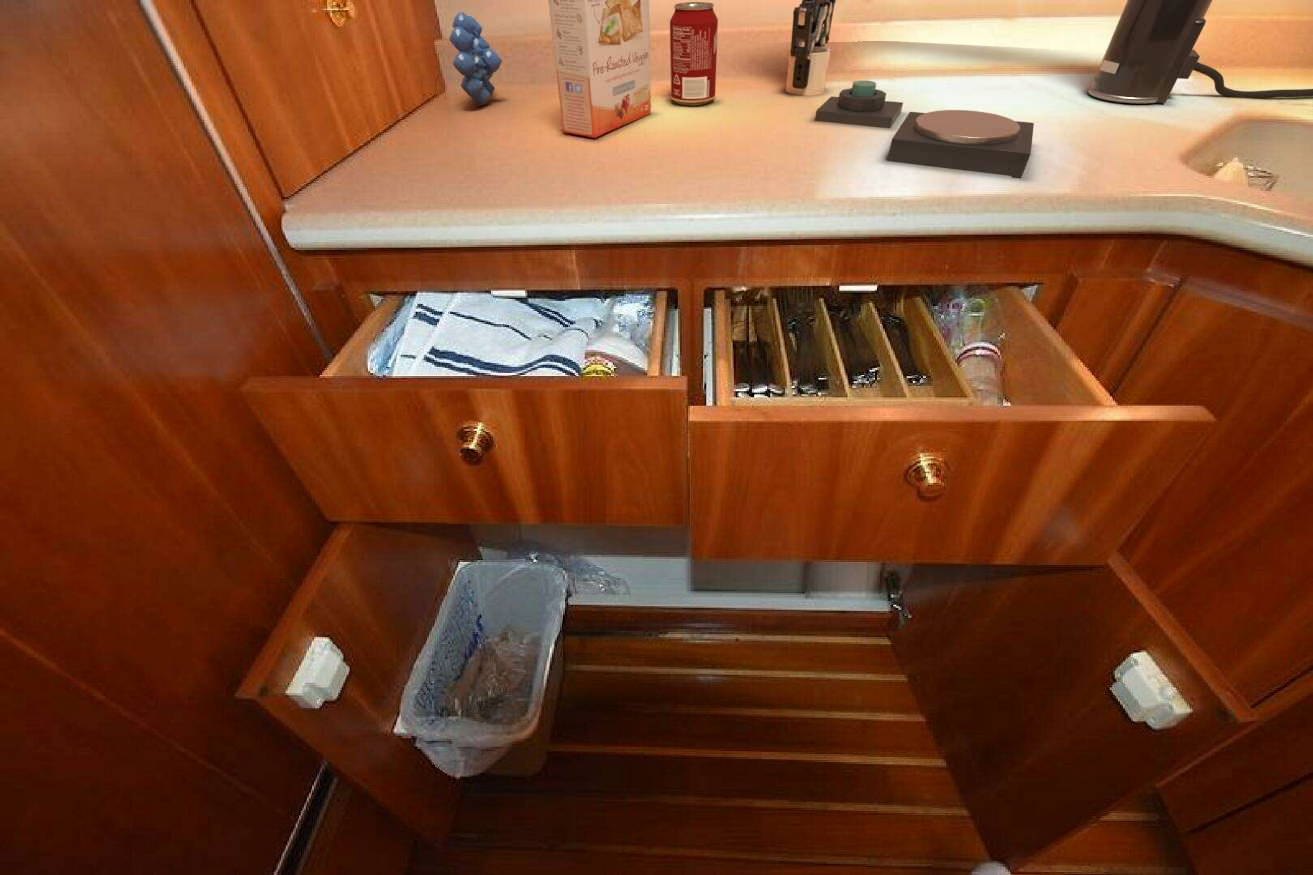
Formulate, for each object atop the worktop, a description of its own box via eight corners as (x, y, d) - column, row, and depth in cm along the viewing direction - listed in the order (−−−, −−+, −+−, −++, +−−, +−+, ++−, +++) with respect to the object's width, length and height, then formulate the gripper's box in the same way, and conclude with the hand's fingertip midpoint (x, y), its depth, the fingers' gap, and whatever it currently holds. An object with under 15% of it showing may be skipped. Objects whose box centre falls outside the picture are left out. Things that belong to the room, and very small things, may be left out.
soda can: (711, 107, 86) (715, 7, 78) (666, 106, 87) (665, 8, 79) (717, 96, 91) (721, 1, 83) (675, 95, 92) (674, 1, 84)
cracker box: (597, 140, 76) (579, -73, 62) (561, 134, 79) (535, -72, 64) (654, 114, 85) (650, -78, 71) (620, 109, 87) (609, -78, 73)
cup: (828, 88, 93) (834, 47, 89) (818, 96, 89) (824, 54, 86) (792, 85, 95) (796, 45, 91) (780, 93, 91) (785, 52, 88)
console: (900, 113, 82) (906, 89, 80) (890, 129, 76) (895, 103, 74) (829, 107, 85) (833, 83, 83) (814, 121, 80) (818, 96, 78)
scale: (1025, 145, 70) (1036, 115, 68) (1021, 178, 62) (1034, 145, 60) (904, 133, 75) (911, 104, 73) (886, 161, 67) (893, 130, 65)
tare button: (875, 94, 79) (878, 81, 78) (871, 99, 77) (873, 86, 76) (853, 92, 80) (855, 79, 79) (848, 97, 78) (850, 84, 77)
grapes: (500, 115, 86) (481, 16, 78) (455, 116, 87) (432, 17, 79) (518, 95, 95) (503, 4, 87) (477, 96, 95) (458, 5, 87)
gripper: (811, -61, 86) (795, 72, 98) (781, -54, 77) (767, 92, 88) (862, -61, 84) (840, 75, 95) (838, -54, 74) (816, 96, 86)
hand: (805, 82), depth 92 cm, fingers closed on cup, 6 cm apart
